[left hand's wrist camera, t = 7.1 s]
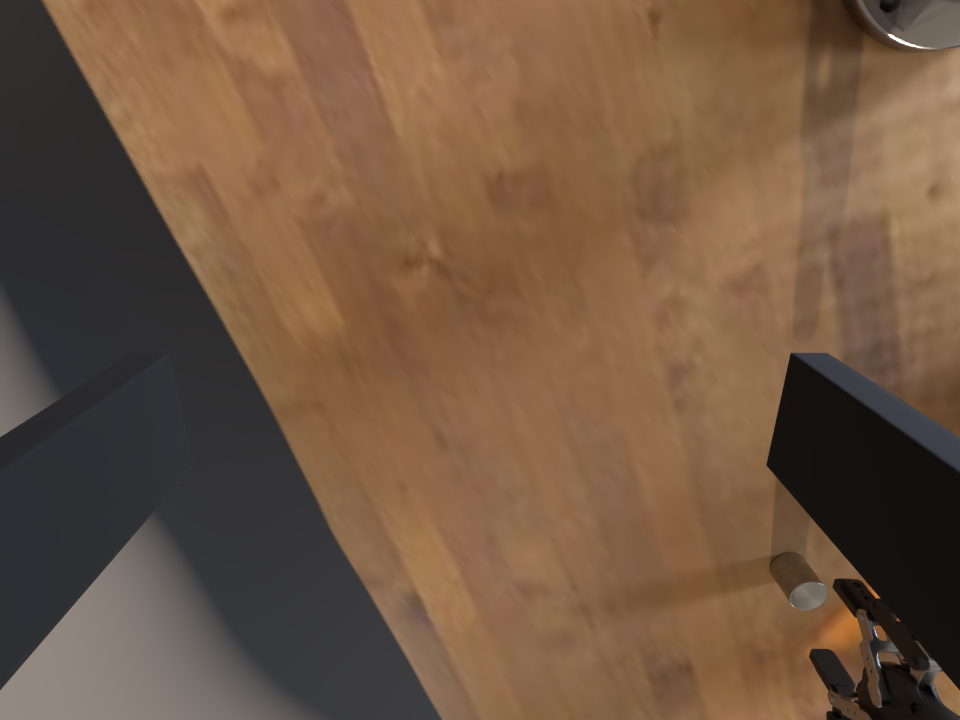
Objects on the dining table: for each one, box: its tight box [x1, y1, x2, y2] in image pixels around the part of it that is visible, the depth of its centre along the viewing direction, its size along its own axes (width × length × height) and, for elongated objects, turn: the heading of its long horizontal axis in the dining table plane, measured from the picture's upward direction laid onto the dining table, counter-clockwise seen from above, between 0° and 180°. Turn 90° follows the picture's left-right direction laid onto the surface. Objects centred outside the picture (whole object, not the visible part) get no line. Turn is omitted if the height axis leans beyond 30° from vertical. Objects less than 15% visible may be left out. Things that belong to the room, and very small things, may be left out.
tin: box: [770, 552, 828, 610], centre depth 57 cm, size 4×4×4 cm
